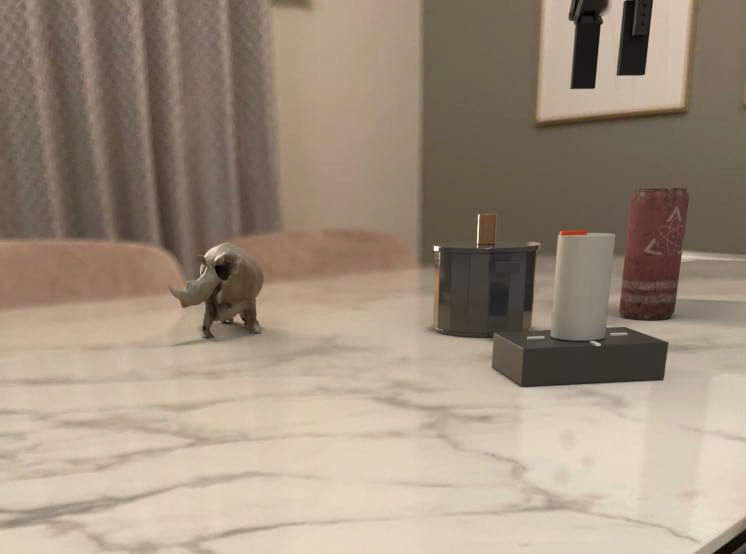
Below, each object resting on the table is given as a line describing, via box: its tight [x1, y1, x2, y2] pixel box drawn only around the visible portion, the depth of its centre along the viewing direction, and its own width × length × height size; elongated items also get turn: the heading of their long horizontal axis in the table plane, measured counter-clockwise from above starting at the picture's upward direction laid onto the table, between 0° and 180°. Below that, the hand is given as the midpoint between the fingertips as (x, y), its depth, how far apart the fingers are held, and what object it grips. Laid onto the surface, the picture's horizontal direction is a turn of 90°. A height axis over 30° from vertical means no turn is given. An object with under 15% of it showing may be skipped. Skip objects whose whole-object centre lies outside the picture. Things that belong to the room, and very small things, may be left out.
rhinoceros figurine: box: [167, 241, 265, 339], centre depth 94 cm, size 8×14×15 cm
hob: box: [491, 326, 669, 387], centre depth 71 cm, size 12×9×3 cm
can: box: [618, 186, 690, 321], centre depth 97 cm, size 6×6×14 cm
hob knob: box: [550, 229, 616, 341], centre depth 69 cm, size 4×4×8 cm
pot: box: [433, 250, 538, 338], centre depth 92 cm, size 11×16×8 cm, turn 8°
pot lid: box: [431, 212, 542, 253], centre depth 90 cm, size 11×11×4 cm
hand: (604, 82), depth 92 cm, fingers open, 13 cm apart
